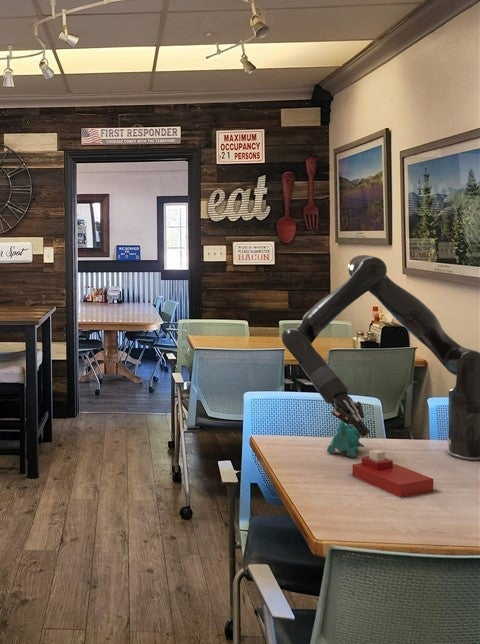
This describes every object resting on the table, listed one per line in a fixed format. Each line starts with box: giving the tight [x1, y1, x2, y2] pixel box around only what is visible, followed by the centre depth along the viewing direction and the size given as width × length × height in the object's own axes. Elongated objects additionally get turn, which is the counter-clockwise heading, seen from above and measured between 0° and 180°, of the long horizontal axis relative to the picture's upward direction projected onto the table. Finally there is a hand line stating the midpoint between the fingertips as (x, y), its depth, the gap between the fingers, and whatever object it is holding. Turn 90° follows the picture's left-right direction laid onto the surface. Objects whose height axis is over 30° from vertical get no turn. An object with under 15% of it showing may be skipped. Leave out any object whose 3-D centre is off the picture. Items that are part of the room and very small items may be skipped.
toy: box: [326, 420, 365, 459], centre depth 193 cm, size 10×12×15 cm
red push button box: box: [351, 455, 434, 498], centre depth 167 cm, size 12×16×5 cm
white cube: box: [368, 448, 386, 462], centre depth 171 cm, size 3×3×3 cm
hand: (366, 434), depth 174 cm, fingers closed
